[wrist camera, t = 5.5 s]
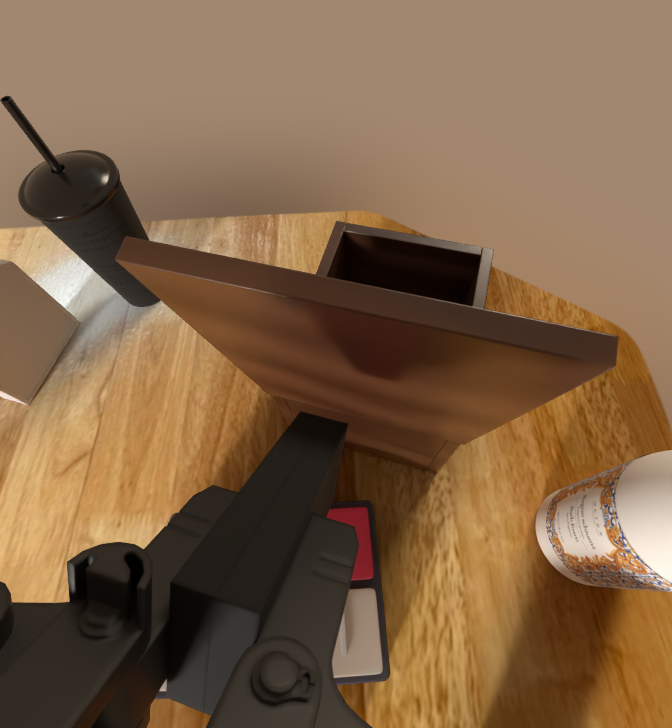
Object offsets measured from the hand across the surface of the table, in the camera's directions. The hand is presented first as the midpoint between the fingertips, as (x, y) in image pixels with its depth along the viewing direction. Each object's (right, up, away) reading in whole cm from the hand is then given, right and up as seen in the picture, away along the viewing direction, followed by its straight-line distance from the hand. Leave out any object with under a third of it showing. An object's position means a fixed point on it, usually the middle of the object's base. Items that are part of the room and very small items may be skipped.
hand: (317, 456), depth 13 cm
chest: (+5, +2, +26) cm, 27 cm away
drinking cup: (-20, +11, +32) cm, 39 cm away
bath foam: (+19, -10, +19) cm, 29 cm away
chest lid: (+2, +3, +6) cm, 6 cm away
